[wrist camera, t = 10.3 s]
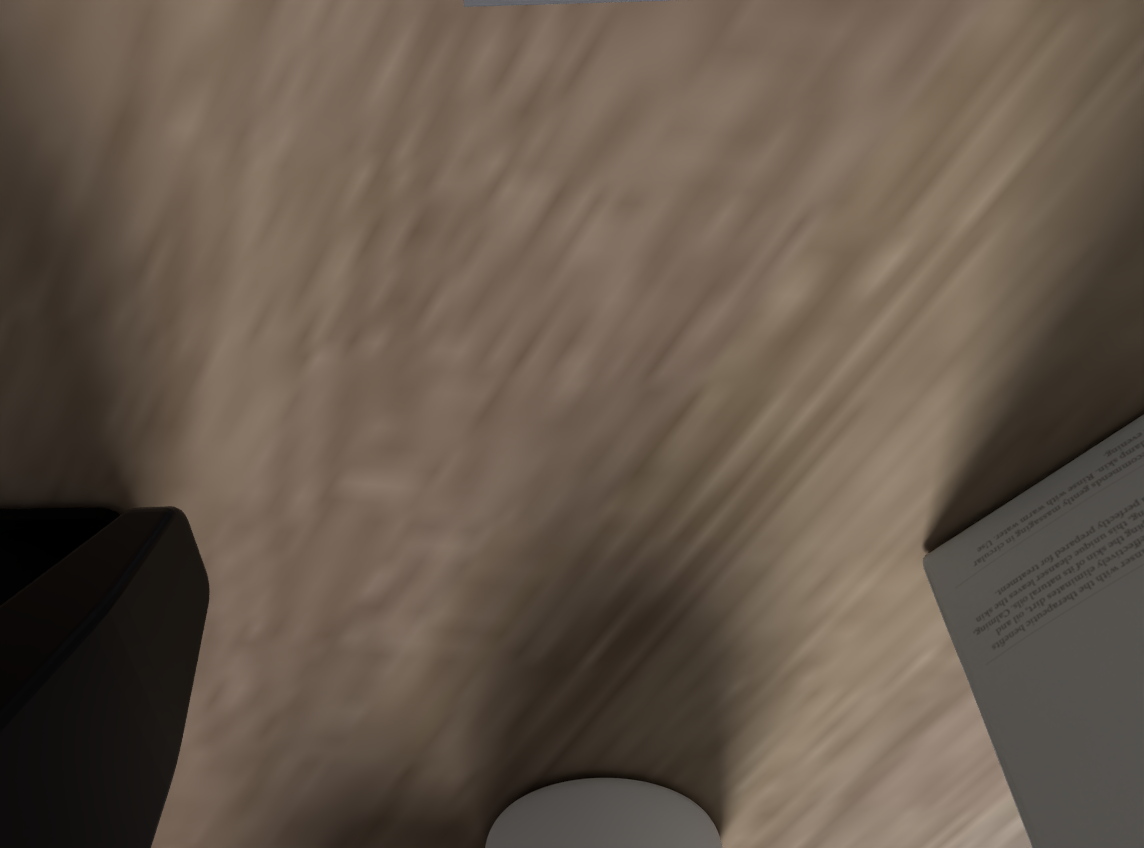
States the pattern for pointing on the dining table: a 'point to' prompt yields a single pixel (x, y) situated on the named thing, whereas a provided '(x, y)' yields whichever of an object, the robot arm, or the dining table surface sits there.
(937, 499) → the dining table surface
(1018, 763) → the skincare box
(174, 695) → the robot arm
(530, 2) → the socket stand
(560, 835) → the pill bottle
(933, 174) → the dining table surface
